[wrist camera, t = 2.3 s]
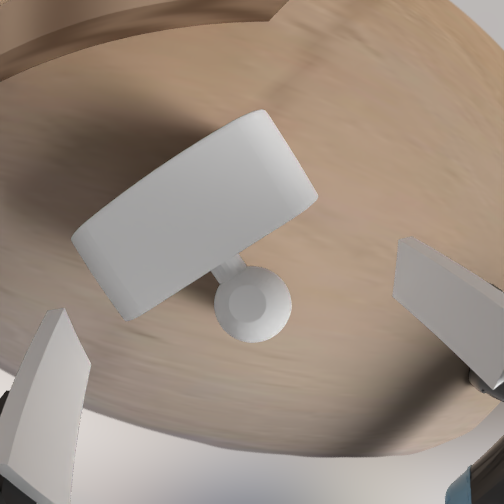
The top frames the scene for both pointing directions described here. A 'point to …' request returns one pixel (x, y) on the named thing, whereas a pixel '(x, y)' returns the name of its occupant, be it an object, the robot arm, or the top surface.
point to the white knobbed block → (203, 228)
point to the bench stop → (105, 24)
